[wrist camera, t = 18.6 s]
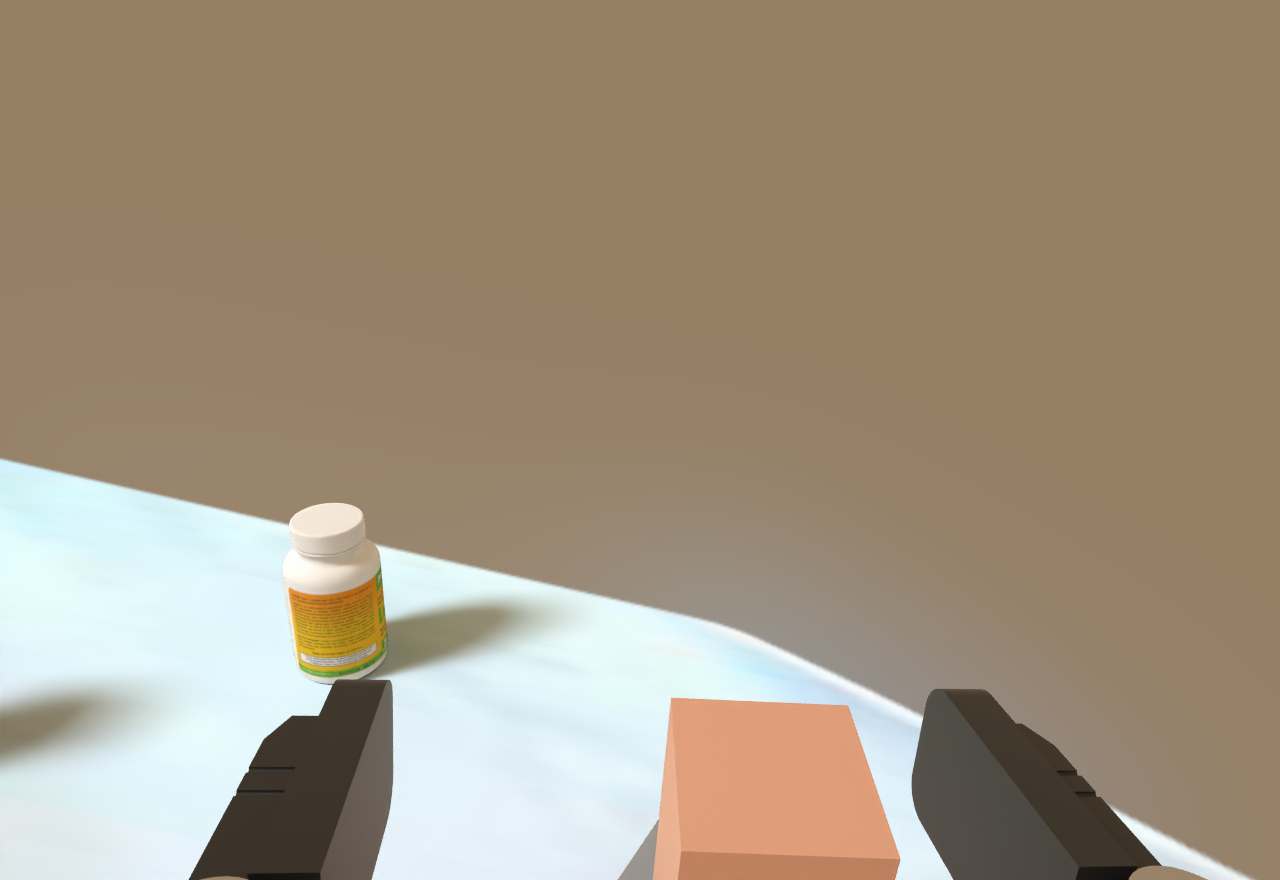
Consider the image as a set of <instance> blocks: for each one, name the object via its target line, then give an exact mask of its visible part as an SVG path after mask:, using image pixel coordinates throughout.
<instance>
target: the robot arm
mask: <svg viewBox="0 0 1280 880" xmlns="http://www.w3.org/2000/svg"><path fill="white" fill-rule="evenodd" d="M392 786H393V693H392V684H391V681H390V680H352V679H337V680H336V681H335V682H334V684H333V686H332V688H331V690H330V692H329V694H328V697H327V699H326V701H325V703H324V705H323V708H322V710H321V712H320V714H319V716H291V717H290V718H289V719H288V720H287V721H285V722H284V723H283V724H282V725H281V726H279V727H278V728H277V729H276V730H274V731H273V732H272V733H271V734H270V735H268V736H267V737H266V738H265V739H264V740H263V742H262V744H261V746H260V747H259V749H258V751H257V753H256V755H255V757H254V759H253V761H252V762H251V764H250V766H249V771H248V773H246V774H245V776H244V777H243V779H242V781H241V783H240V785H239V787H238V789H237V793H236V796H233V798H232V800H231V802H230V804H229V805H228V807H227V809H226V811H225V813H224V815H223V817H222V819H221V820H220V822H219V824H218V826H217V828H216V830H215V832H214V833H213V835H212V837H211V839H210V841H209V843H208V845H207V847H206V848H205V850H204V852H203V854H202V856H201V858H200V860H199V861H198V863H197V865H196V867H195V869H194V871H193V873H192V875H191V876H190V878H189V880H371V879H372V876H373V872H374V868H375V865H376V861H377V857H378V853H379V850H380V846H381V842H382V839H383V835H384V831H385V828H386V824H387V820H388V815H389V810H390V804H391V796H392ZM912 796H913V802H914V806H915V810H916V813H917V815H918V818H919V820H920V822H921V824H922V825H923V827H924V829H925V831H926V832H927V834H928V836H929V838H930V839H931V841H932V843H933V845H934V846H935V848H936V850H937V852H938V853H939V855H940V857H941V858H942V860H943V862H944V864H945V865H946V867H947V869H948V871H949V872H950V874H951V876H952V878H953V879H954V880H1207V879H1205V878H1202V877H1200V876H1198V875H1196V874H1193V873H1190V872H1187V871H1184V870H1181V869H1177V868H1173V867H1166V866H1162V865H1161V864H1160V863H1159V862H1158V861H1157V860H1156V859H1155V858H1154V856H1153V855H1152V854H1151V853H1150V852H1149V851H1148V850H1147V849H1146V847H1145V846H1144V845H1143V844H1142V843H1141V842H1140V841H1139V840H1138V838H1137V837H1136V836H1135V835H1134V834H1133V833H1132V832H1131V831H1130V830H1129V828H1128V827H1127V826H1126V825H1125V824H1124V823H1123V822H1122V821H1121V819H1120V818H1119V817H1118V816H1117V815H1116V814H1115V813H1114V812H1113V811H1112V809H1111V808H1110V807H1109V806H1108V805H1107V804H1106V803H1105V802H1104V800H1103V799H1102V798H1101V797H1096V794H1095V790H1094V789H1093V788H1092V787H1091V786H1090V785H1089V784H1088V783H1087V782H1086V780H1085V779H1084V778H1083V777H1082V776H1078V775H1077V770H1076V769H1075V768H1074V767H1073V766H1072V765H1071V764H1070V763H1069V761H1068V760H1067V759H1066V758H1065V757H1064V756H1063V755H1062V754H1061V752H1060V751H1059V750H1058V749H1057V748H1056V747H1055V746H1054V745H1053V744H1051V743H1050V742H1048V741H1047V740H1045V739H1044V738H1042V737H1041V736H1039V735H1038V734H1036V733H1035V732H1034V731H1032V730H1031V729H1029V728H1028V727H1026V726H1025V725H1023V724H1016V723H1015V722H1014V721H1013V720H1012V719H1011V718H1010V716H1009V715H1008V714H1007V713H1006V712H1005V711H1004V709H1003V708H1002V707H1001V706H1000V705H999V704H998V702H997V701H996V700H995V699H994V698H993V697H992V695H991V694H989V693H988V692H987V691H985V690H979V689H978V690H977V689H935V690H933V691H932V692H931V693H930V695H929V696H928V699H927V702H926V707H925V712H924V717H923V722H922V727H921V732H920V737H919V742H918V748H917V753H916V758H915V763H914V768H913V773H912Z"/></svg>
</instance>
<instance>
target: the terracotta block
mask: <svg viewBox="0 0 1280 880" xmlns="http://www.w3.org/2000/svg"><path fill="white" fill-rule="evenodd" d="M899 863H900V856H899V853H898V851H897V848H896V845H895V842H894V839H893V836H892V833H891V830H890V827H889V824H888V821H887V818H886V815H885V812H884V810H883V807H882V804H881V801H880V798H879V795H878V792H877V789H876V786H875V783H874V780H873V777H872V774H871V771H870V768H869V766H868V763H867V760H866V757H865V754H864V751H863V748H862V745H861V742H860V739H859V736H858V733H857V730H856V727H855V724H854V722H853V719H852V716H851V713H850V710H849V707H848V706H845V705H822V704H799V703H776V702H753V701H730V700H707V699H684V698H671V705H670V715H669V724H668V734H667V744H666V754H665V764H664V774H663V784H662V794H661V803H660V813H659V823H658V833H657V843H656V853H655V863H654V873H653V880H895V878H896V874H897V870H898V866H899Z"/></svg>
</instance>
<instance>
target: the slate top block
mask: <svg viewBox="0 0 1280 880" xmlns="http://www.w3.org/2000/svg"><path fill="white" fill-rule="evenodd" d="M658 823H659V820H658V821H657V823H656V824H655V826H654V827H653V829H652V830H651V832H650V833H649V835H648V836H647V838H646V839H645V841H644V842H643V844H642V845H641V846H640V848H639V849H638V851H637V852H636V854H635V855H634V857H633V858H632V860H631V861H630V863H629V864H628V866H627V867H626V869H625V870H624V872H623V873H622V875H621V876H620V878H619V879H618V880H653V873H654V863H655V853H656V843H657V833H658Z"/></svg>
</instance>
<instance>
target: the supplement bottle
mask: <svg viewBox="0 0 1280 880" xmlns="http://www.w3.org/2000/svg"><path fill="white" fill-rule="evenodd" d="M289 527H290V539H291V544H292V546H293V549H292V550H291V551H290V552H289V553H288V554H287V556H286V557H285V559H284V562H283V568H282V571H283V583H284V590H285V597H286V604H287V611H288V618H289V625H290V632H291V640H292V647H293V653H294V658H295V663H296V667H297V669H298V671H299V672H300V673H301V674H302V675H303V676H305V677H306V678H308V679H310V680H312V681H315V682H319V683H325V684H334V682H335V681H336V680H337V679H352V680H356V679H359V678H361V677H363V676H365V675H367V674H369V673H370V672H372V671H373V670H375V669H376V668H377V667H378V666H379V665H380V664H381V663H382V662H383V660H384V659H385V657H386V654H387V650H388V639H387V629H386V618H385V607H384V596H383V584H382V573H381V561H380V555H379V551H378V549H377V547H376V546H375V545H374V544H373V543H372V542H371V541H370V540H368V539H367V538H365V536H366V534H365V523H364V516H363V513H362V511H361V510H360V509H358V508H357V507H355V506H352V505H349V504H343V503H325V504H319V505H315V506H311V507H308V508H306V509H304V510H301V511H300V512H298V513H297V514H295V515H294V516H293V517H292V519H291V520H290V523H289Z"/></svg>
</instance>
